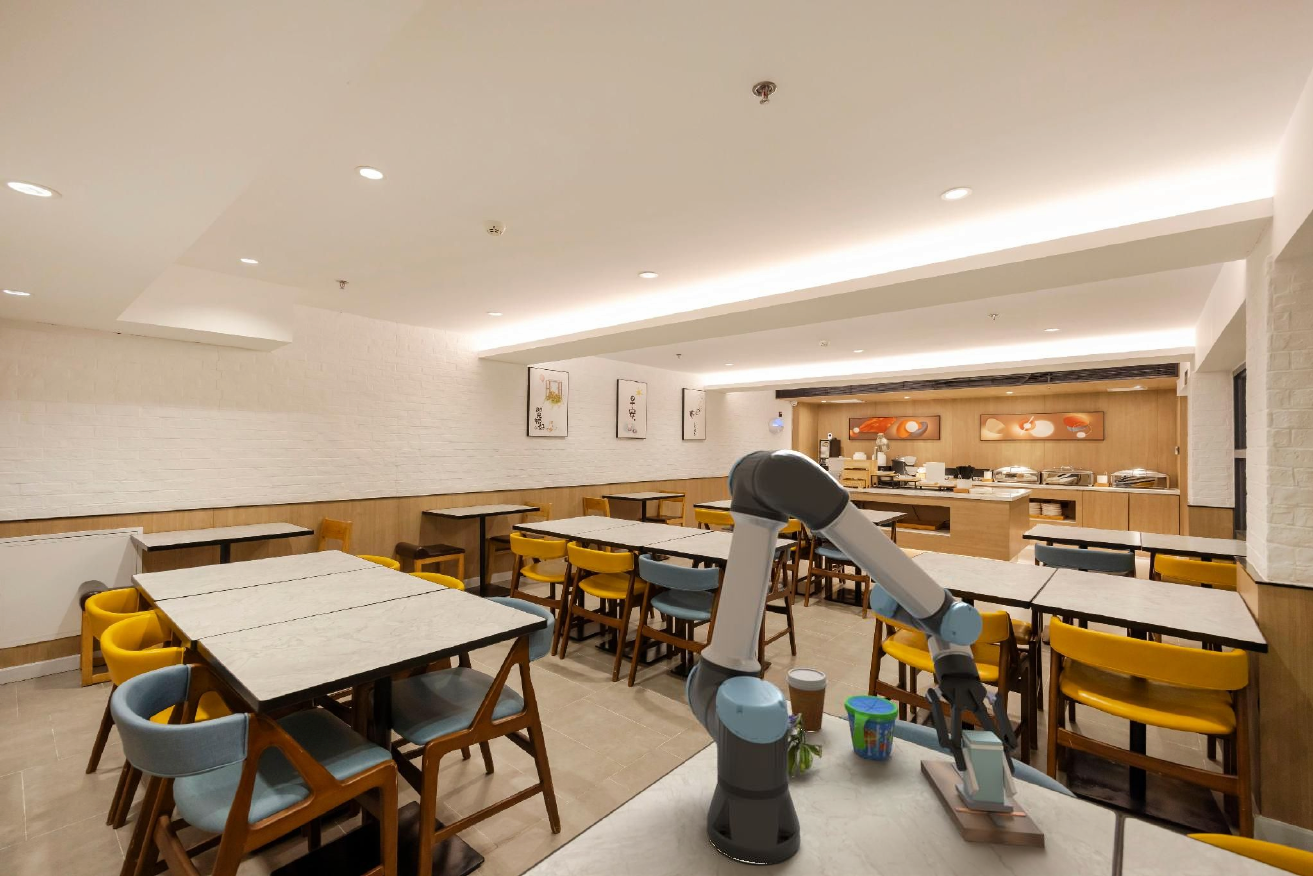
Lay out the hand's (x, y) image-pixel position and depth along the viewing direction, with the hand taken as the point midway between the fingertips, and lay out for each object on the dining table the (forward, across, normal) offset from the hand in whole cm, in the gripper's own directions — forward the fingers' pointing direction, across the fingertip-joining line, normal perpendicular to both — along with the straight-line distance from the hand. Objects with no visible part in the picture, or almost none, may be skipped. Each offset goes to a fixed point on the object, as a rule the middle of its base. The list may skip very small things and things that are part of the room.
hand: (993, 793), depth 96 cm
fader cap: (0, 0, -5) cm, 5 cm away
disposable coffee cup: (-21, +26, -29) cm, 44 cm away
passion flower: (-8, +31, -17) cm, 36 cm away
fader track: (-1, 0, -9) cm, 9 cm away
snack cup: (-13, +14, -22) cm, 29 cm away
